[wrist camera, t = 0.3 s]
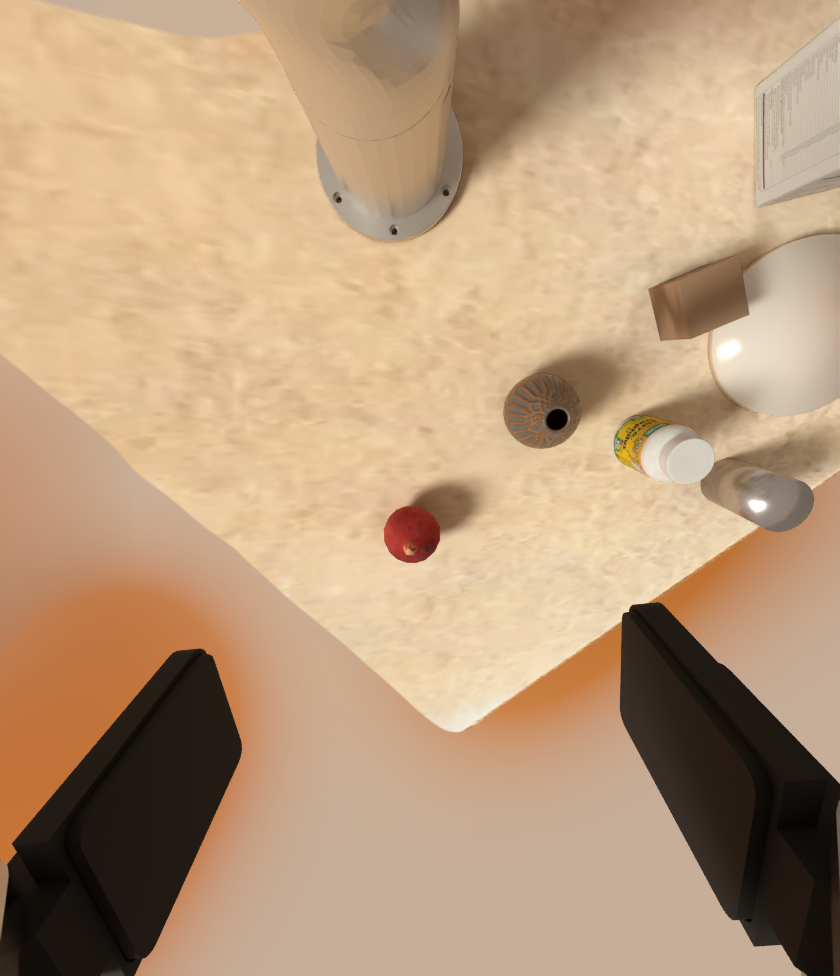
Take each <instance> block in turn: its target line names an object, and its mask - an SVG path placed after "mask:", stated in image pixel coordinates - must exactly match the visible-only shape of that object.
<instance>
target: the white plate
mask: <svg viewBox="0 0 840 976" xmlns="http://www.w3.org/2000/svg"><path fill="white" fill-rule="evenodd" d="M742 274H743V279H744V285H745V291H746V297H747V303H748V308H749V314H750V315H748V316H745V317H743V318H740V319H738V320H735V321H733V322H731V323H728V324H726V325H723V326H721V327H718V328H716V329H714V330H711V331H710V332H709V338H708V360H709V365H710V370H711V373H712V375H713V378H714V380H715V382H716V384H717V386H718V387H719V389H720V390H721V391H722V393H723V394H724V395H725V396H726V397H727V398H728V399H729V400H730V401H732V402H733V403H735V404H736V405H738V406H740V407H742V408H744V409H746V410H749V411H752V412H755V413H761V414H767V415H774V416H791V415H799V414H803V413H807V412H811V411H813V410H816V409H819V408H821V407H823V406H825V405H827V404H829V403H831V402H833V401H835V400H836V399H838V398H839V397H840V235H838V234H823V235H815V236H810V237H806V238H803V239H799V240H796V241H793V242H789V243H786V244H784V245H782V246H779V247H777V248H775V249H773V250H771V251H769V252H767V253H765V254H764V255H762V256H761V257H759V258H758V259H757V260H755V261H754V262H753V263H751V264H750V265H749V266H748V267H747V268H746V269H745V270H743V272H742Z"/></svg>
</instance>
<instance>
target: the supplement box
mask: <svg viewBox="0 0 840 976" xmlns="http://www.w3.org/2000/svg"><path fill="white" fill-rule="evenodd" d="M755 180H756V207H763V206H768V205H772V204H776V203H780V202H784V201H788V200H792V199H796V198H800V197H804V196H808V195H812V194H815V193H819V192H823V191H827V190H831V189H834V188H838V187H840V17H839V18H838V19H837V20H835V21H834V22H833V23H832V24H830V25H829V26H828V27H827V28H826V29H824V30H823V31H822V32H821V33H819V34H818V35H817V36H816V37H815V38H813V39H812V40H811V41H810V42H808V43H807V44H806V45H805V46H804V47H802V48H801V49H800V50H799V51H798V52H796V53H795V54H794V55H793V56H792V57H790V58H789V59H788V60H787V61H785V62H784V63H783V64H782V65H781V66H779V67H778V68H777V69H776V70H774V71H773V72H772V73H771V74H770V75H768V76H767V77H766V78H765V79H763V80H762V81H761V82H760V83H759V84H758V85H757V86H756V87H755Z"/></svg>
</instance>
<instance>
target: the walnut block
mask: <svg viewBox="0 0 840 976" xmlns="http://www.w3.org/2000/svg"><path fill="white" fill-rule="evenodd" d="M649 293H650V298H651V302H652V306H653V310H654V315H655V319H656V323H657V327H658V332H659V336H660V340H661V341H663V340H679V339H692V338H694V337H697V336H699V335H701V334H704V333H706V332H709V331H711V330H714V329H716V328H718V327H721V326H723V325H726V324H728V323H731V322H733V321H735V320H738V319H740V318H743V317H745V316H748V315H750V314H749V308H748V303H747V297H746V291H745V285H744V279H743V274H742V268H741V262H740V256H739V255H736V256H732V257H729V258H726V259H723V260H720V261H717V262H714V263H711V264H707V265H704V266H701V267H699V268H697V269H694V270H692V271H690V272H687V273H685V274H683V275H680V276H678V277H676V278H673V279H671V280H669V281H666V282H664V283H662V284H660V285H657V286H655V287H653V288H650V289H649Z"/></svg>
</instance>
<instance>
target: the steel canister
mask: <svg viewBox="0 0 840 976" xmlns="http://www.w3.org/2000/svg"><path fill="white" fill-rule="evenodd" d="M701 490H702V493H703V495H704V496H705V497H706V498H707V499H708V500H710V501H712V502H714V503H716V504H718V505H720V506H722V507H724V508H726V509H728V510H730V511H732V512H734V513H735V514H737V515H739V516H741V517H743V518H745V519H747V520H749V521H751V522H753V523H755V524H757V525H759V526H761V527H763V528H765V529H767V530H770V531H774V532H782V531H787V530H790V529H792V528H794V527H796V526H798V525H799V524H801V523H802V522H803V521H804V520H805V519H806V518H807V517H808V515H809V514H810V512H811V510H812V507H813V503H814V496H813V492H812V490H811V488H810V487H809V486H808V485H807V484H806V483H804V482H802V481H799V480H796V479H793V478H790V477H787V476H784V475H781V474H778V473H775V472H772V471H769V470H766V469H763V468H760V467H757V466H754V465H751V464H748V463H745V462H742V461H739V460H736V459H730V458H728V459H722V460H719V461H717V462H715V463H714V465H713V467H712V469H711V471H710V472H709V473H708V475H707V476H706V477H704V478H703V479H702V480H701Z"/></svg>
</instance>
